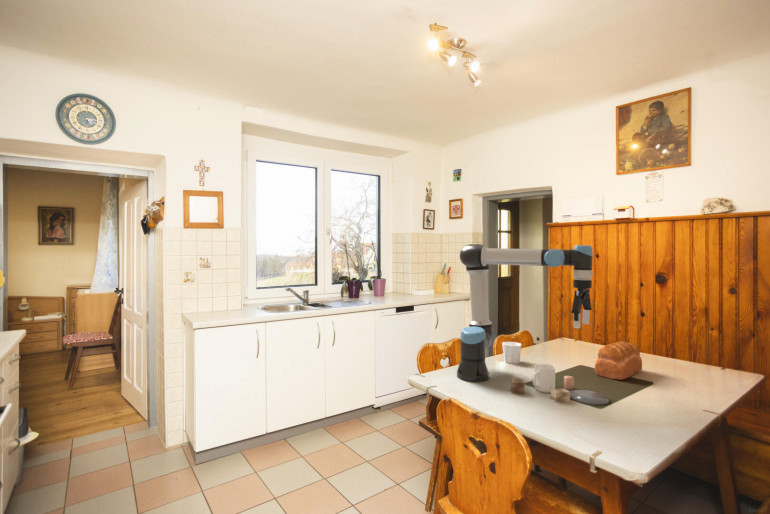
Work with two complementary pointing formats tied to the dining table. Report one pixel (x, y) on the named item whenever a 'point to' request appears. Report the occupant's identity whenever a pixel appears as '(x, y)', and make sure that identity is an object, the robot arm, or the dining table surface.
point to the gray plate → (589, 397)
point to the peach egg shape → (569, 382)
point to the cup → (511, 352)
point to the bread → (618, 361)
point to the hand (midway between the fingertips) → (581, 326)
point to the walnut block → (517, 386)
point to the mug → (544, 378)
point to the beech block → (560, 395)
